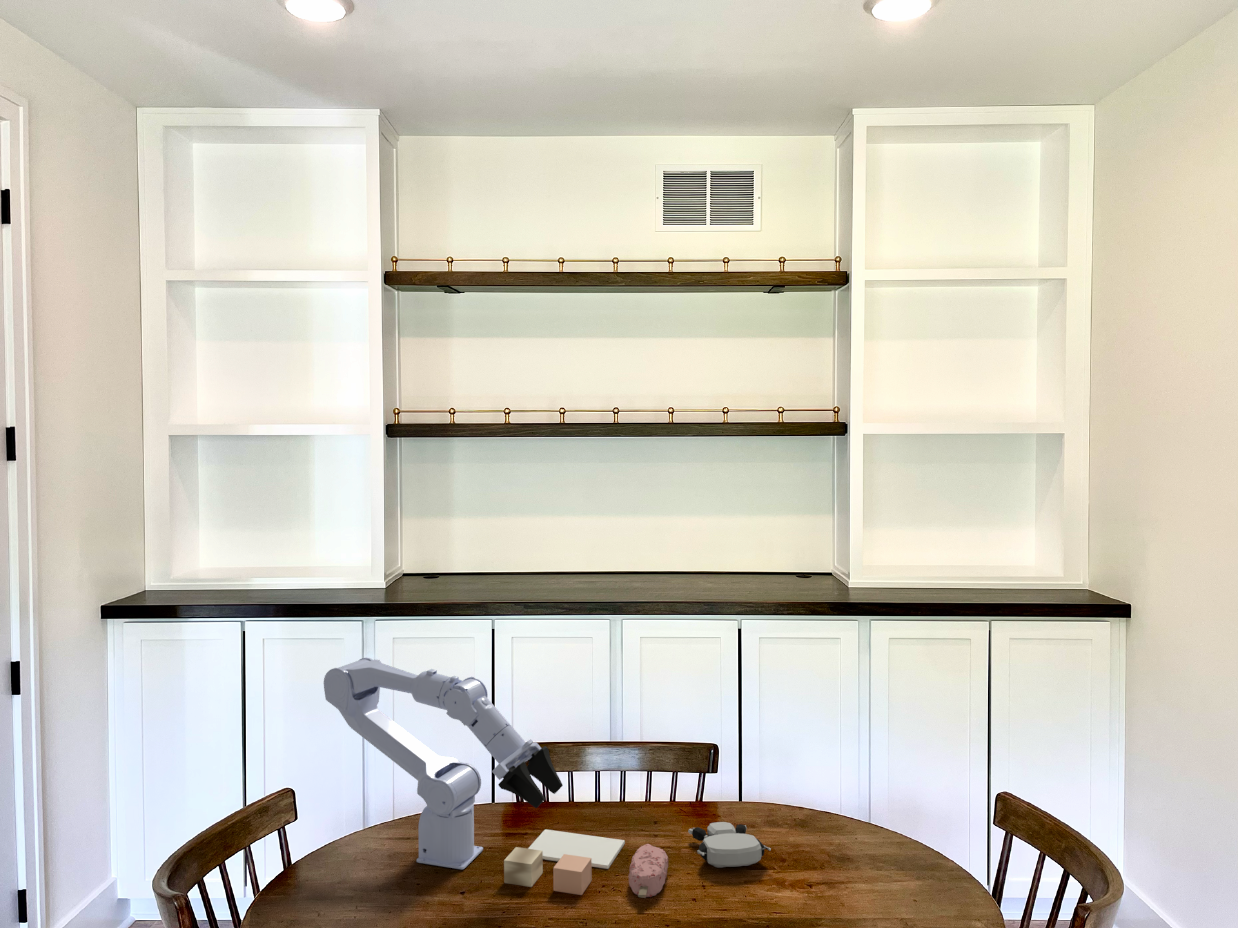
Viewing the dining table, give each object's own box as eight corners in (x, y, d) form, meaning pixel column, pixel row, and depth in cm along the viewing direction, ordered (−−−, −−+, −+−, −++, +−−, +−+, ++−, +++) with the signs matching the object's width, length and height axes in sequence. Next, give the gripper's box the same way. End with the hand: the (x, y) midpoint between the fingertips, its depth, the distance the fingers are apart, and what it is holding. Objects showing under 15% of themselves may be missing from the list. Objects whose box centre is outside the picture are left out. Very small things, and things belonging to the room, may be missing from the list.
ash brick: (504, 883, 145) (504, 860, 145) (516, 869, 150) (516, 846, 150) (531, 887, 144) (531, 864, 144) (542, 873, 148) (542, 850, 148)
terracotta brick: (553, 891, 142) (553, 867, 142) (564, 876, 147) (564, 853, 147) (581, 895, 141) (581, 871, 141) (591, 880, 146) (591, 857, 146)
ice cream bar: (622, 882, 137) (635, 839, 152) (623, 908, 138) (636, 862, 152) (660, 884, 136) (670, 840, 151) (661, 910, 137) (671, 864, 151)
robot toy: (684, 844, 161) (703, 878, 146) (684, 819, 161) (703, 851, 146) (747, 839, 163) (773, 872, 148) (747, 815, 163) (772, 846, 148)
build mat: (524, 856, 154) (524, 852, 154) (545, 832, 164) (545, 829, 164) (608, 868, 150) (608, 865, 150) (624, 843, 159) (624, 840, 159)
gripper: (493, 730, 142) (547, 793, 139) (530, 711, 156) (580, 768, 152) (467, 759, 144) (520, 822, 140) (506, 737, 157) (555, 795, 154)
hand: (549, 796), depth 146 cm, fingers open, 7 cm apart
